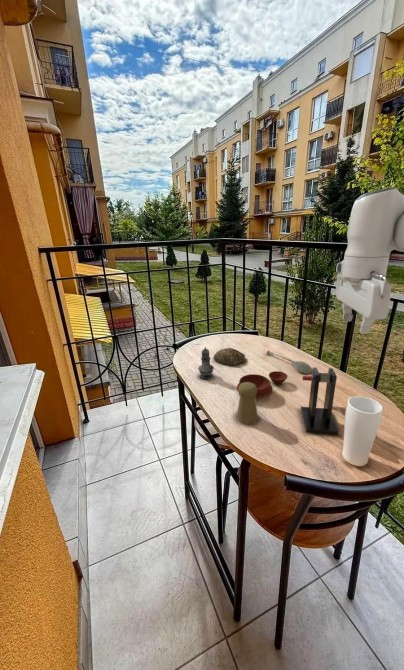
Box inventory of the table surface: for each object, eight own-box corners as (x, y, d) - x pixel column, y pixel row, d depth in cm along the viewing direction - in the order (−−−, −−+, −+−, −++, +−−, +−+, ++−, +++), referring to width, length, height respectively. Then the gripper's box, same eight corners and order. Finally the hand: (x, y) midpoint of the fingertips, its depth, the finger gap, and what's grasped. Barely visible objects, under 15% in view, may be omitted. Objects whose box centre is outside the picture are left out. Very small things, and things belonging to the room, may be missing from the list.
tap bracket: (300, 410, 84) (305, 362, 78) (329, 412, 82) (336, 363, 77) (305, 432, 75) (311, 380, 69) (338, 435, 73) (346, 382, 68)
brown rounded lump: (209, 359, 119) (209, 348, 117) (229, 350, 127) (229, 340, 125) (231, 369, 110) (231, 357, 108) (251, 359, 118) (252, 348, 116)
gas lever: (302, 381, 88) (302, 374, 89) (322, 383, 87) (322, 375, 88) (312, 381, 73) (312, 372, 73) (337, 383, 72) (337, 373, 72)
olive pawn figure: (236, 410, 85) (237, 378, 81) (257, 411, 84) (258, 379, 80) (236, 423, 79) (236, 390, 75) (258, 425, 78) (259, 390, 74)
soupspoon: (303, 377, 103) (315, 373, 106) (305, 369, 102) (316, 365, 105) (262, 355, 121) (273, 352, 124) (263, 348, 119) (274, 345, 123)
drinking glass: (376, 460, 65) (389, 405, 60) (361, 475, 61) (373, 418, 56) (348, 444, 70) (357, 392, 65) (332, 456, 66) (341, 402, 61)
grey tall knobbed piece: (195, 376, 105) (193, 347, 101) (205, 371, 109) (204, 342, 105) (206, 381, 102) (205, 351, 97) (217, 375, 106) (216, 346, 101)
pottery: (229, 391, 95) (229, 379, 94) (271, 374, 105) (272, 363, 104) (253, 407, 86) (253, 395, 84) (297, 387, 96) (298, 375, 94)
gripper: (405, 275, 54) (391, 342, 58) (359, 263, 73) (351, 314, 78) (370, 276, 54) (359, 342, 59) (334, 264, 73) (327, 314, 78)
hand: (354, 326), depth 68 cm, fingers open, 8 cm apart
